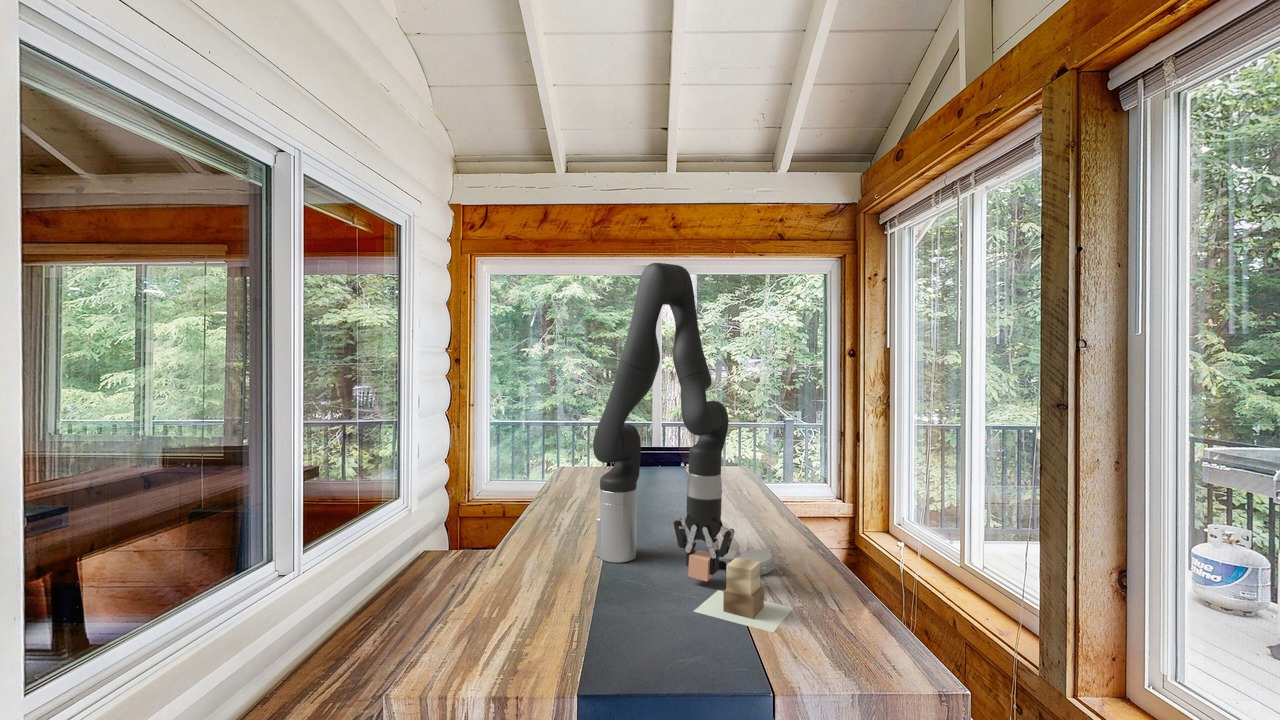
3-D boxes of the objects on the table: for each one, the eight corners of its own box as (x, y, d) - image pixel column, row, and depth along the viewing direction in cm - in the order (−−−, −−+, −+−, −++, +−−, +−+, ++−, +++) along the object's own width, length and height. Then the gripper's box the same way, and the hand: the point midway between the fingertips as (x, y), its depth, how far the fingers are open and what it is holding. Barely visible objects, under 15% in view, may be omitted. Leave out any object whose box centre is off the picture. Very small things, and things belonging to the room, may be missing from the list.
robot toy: (704, 579, 134) (769, 585, 128) (703, 559, 134) (768, 564, 128) (719, 561, 145) (779, 566, 139) (718, 543, 145) (778, 547, 139)
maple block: (726, 590, 112) (726, 565, 112) (736, 582, 116) (736, 557, 116) (750, 596, 109) (751, 570, 109) (759, 587, 114) (760, 562, 114)
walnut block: (723, 611, 112) (723, 591, 112) (735, 600, 117) (735, 580, 117) (752, 619, 109) (753, 598, 109) (763, 607, 114) (763, 587, 114)
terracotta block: (688, 576, 125) (689, 555, 125) (697, 569, 129) (698, 549, 129) (707, 581, 123) (708, 560, 123) (715, 574, 127) (716, 554, 126)
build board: (693, 617, 112) (693, 611, 112) (718, 595, 122) (718, 589, 122) (773, 639, 104) (773, 632, 104) (793, 613, 114) (793, 607, 114)
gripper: (667, 492, 126) (665, 569, 126) (728, 502, 118) (726, 584, 119) (682, 485, 132) (680, 558, 133) (741, 494, 125) (739, 572, 125)
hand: (702, 570), depth 126 cm, fingers closed on terracotta block, 4 cm apart
